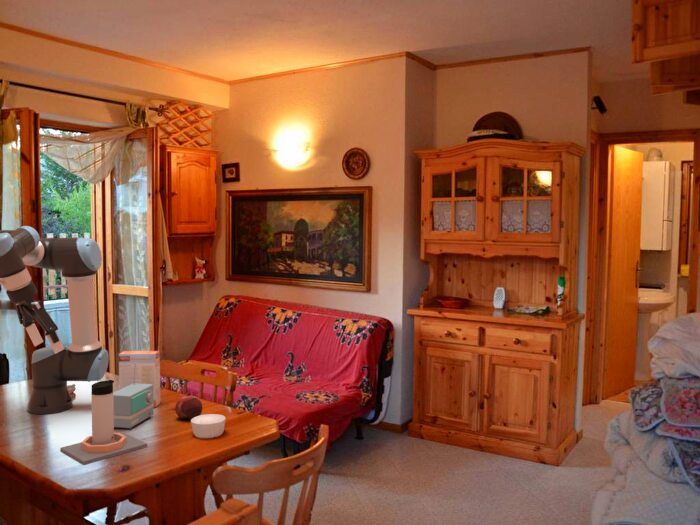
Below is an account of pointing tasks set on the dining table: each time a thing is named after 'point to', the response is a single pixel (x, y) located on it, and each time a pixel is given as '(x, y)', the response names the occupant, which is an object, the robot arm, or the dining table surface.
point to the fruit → (188, 407)
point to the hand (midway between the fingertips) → (49, 347)
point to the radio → (132, 404)
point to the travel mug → (102, 413)
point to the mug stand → (102, 448)
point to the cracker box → (140, 370)
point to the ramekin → (208, 425)
